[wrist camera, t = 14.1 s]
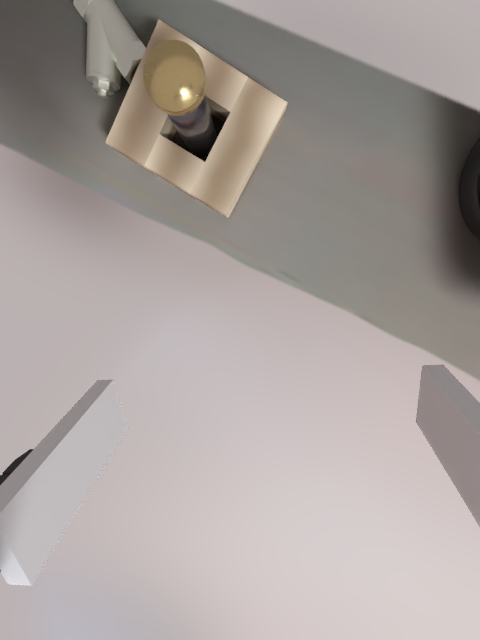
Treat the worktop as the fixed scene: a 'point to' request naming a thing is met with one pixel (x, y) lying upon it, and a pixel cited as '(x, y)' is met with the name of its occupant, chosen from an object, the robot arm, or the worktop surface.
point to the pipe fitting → (109, 45)
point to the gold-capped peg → (181, 92)
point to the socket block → (230, 146)
